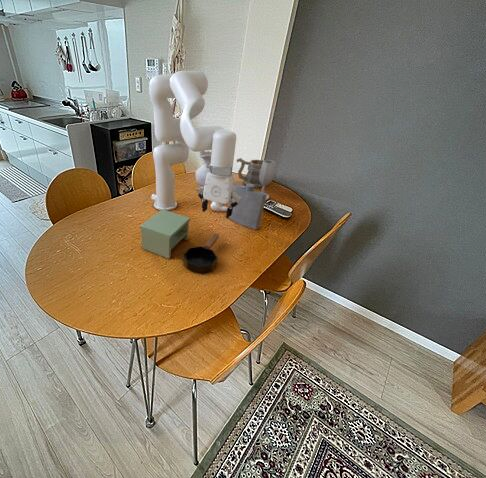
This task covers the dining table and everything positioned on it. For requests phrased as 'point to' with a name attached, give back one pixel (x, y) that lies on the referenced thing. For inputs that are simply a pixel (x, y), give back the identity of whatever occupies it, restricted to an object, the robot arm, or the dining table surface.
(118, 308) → the dining table surface
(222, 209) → the sitting furry creature
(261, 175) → the wineglass
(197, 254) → the pan
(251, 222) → the hip flask
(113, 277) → the dining table surface
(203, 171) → the ceramic pitcher
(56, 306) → the dining table surface
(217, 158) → the robot arm
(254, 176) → the tankard
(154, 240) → the sage green box
